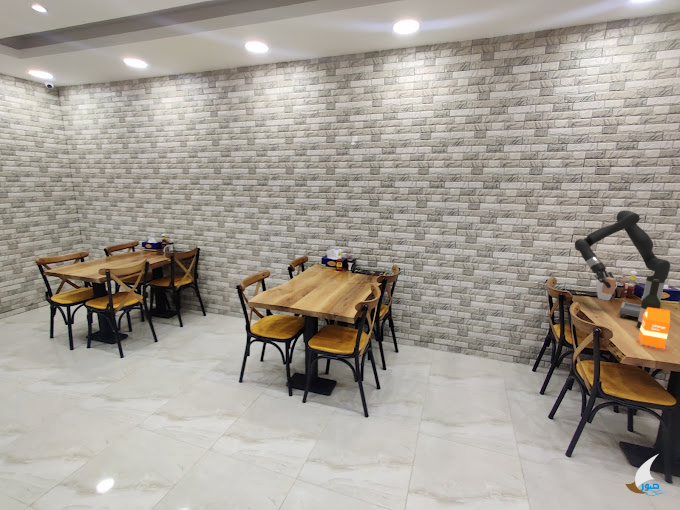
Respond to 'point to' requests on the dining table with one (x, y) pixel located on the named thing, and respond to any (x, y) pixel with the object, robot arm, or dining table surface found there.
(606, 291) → the terracotta block
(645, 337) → the orange juice
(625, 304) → the grey square tray
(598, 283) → the cup
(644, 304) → the wine bottle
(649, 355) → the dining table surface
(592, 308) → the dining table surface
